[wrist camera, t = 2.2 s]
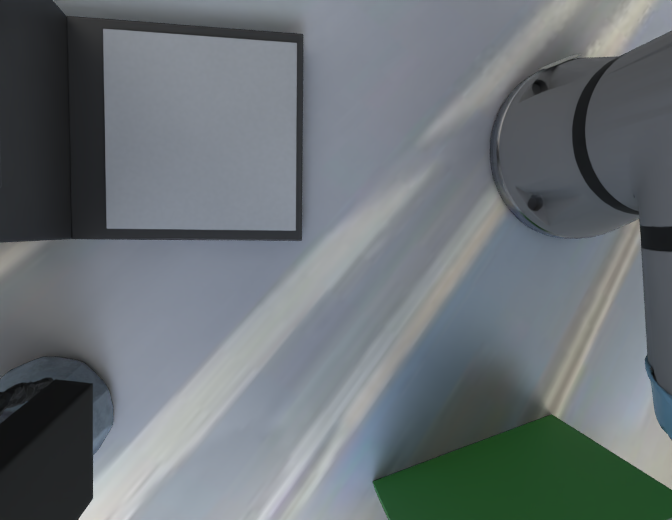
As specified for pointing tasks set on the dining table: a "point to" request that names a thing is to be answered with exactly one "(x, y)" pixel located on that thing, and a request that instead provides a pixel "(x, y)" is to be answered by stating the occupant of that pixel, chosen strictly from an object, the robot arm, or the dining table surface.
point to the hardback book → (526, 481)
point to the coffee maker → (147, 129)
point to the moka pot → (37, 374)
